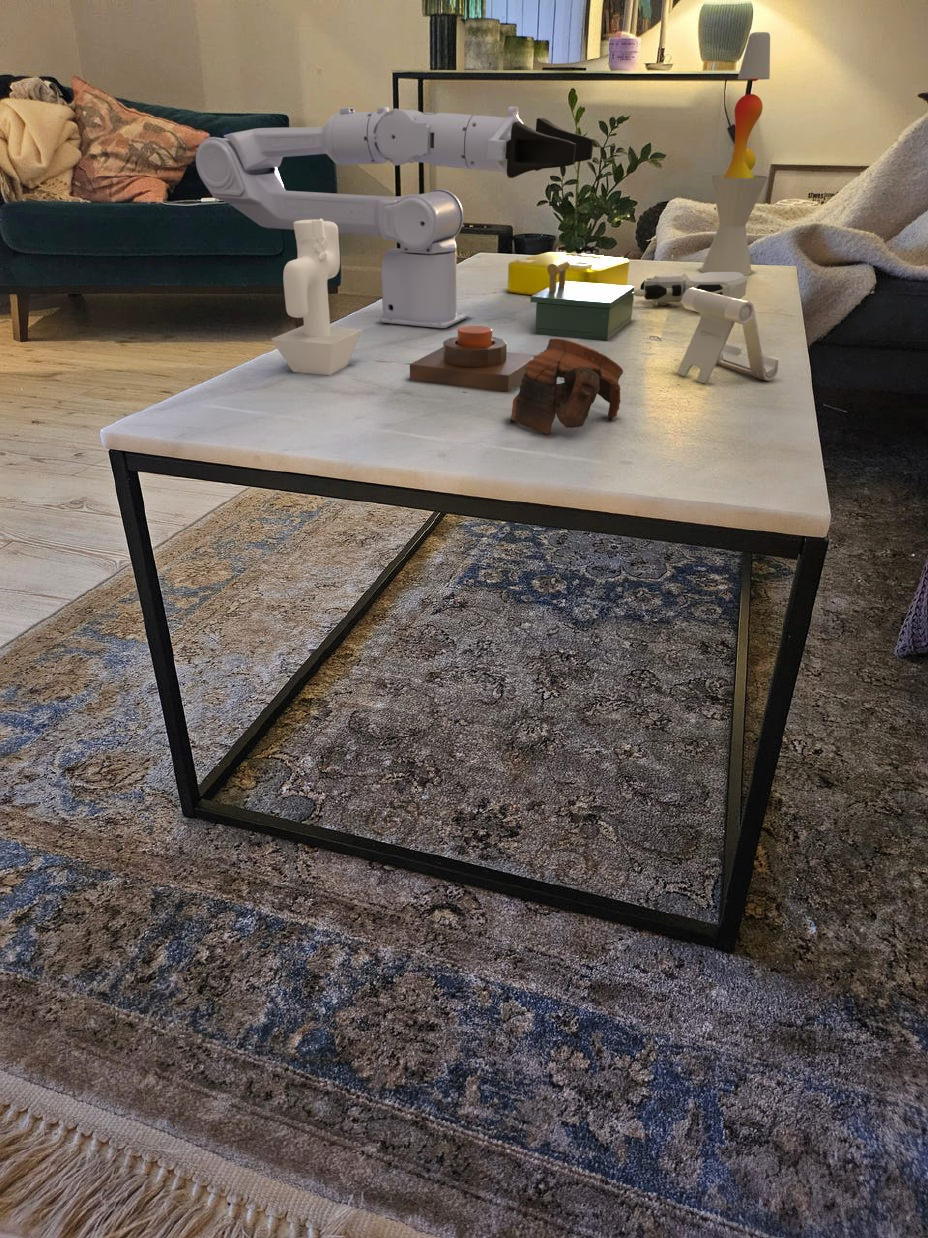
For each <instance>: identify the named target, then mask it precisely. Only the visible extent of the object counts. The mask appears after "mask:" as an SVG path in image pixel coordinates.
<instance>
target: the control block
mask: <svg viewBox="0 0 928 1238" xmlns="http://www.w3.org/2000/svg"><path fill="white" fill-rule="evenodd" d="M442 344H443V345H442V347H440V348H438V349H436V350H434V351H432V352H431V353H429V354H426V355H425V356H423V357H421V358H419V359H418V360H415V361H413V362H412V363H410V364H409V381H413V382H420V383H429V384H437V385H445V386H454V387H462V388H470V389H479V390H486V391H487V390H488V391H494V392H495V391H497V392H504V393H509V392H510V391H512V390H513V389H515V387H518V385H521V383H522V382H521V380H522V378H523V376H524V374H525V373H526V371H525V367H526V366H527V365H528V363H529V361H530V360H532V359H533V358H534V357H535V356H536V355H537V354H536V355H535V354H527V353H526V354H525V353H517V352H509V351H507V347H508V346H507V345H508V344H507V342H506V341H505V340H504V339H502V338H499V337H496V336H495V337H494V336H492V345H491V346H486V347H464V346H460V345H458V336H454V337H449V338H447V339H445V340H444V341H443V342H442Z"/></svg>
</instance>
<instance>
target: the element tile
mask: <svg viewBox="0 0 928 1238" xmlns="http://www.w3.org/2000/svg"><path fill="white" fill-rule="evenodd" d="M561 259H567V260H568V261H569V267H568V269H566V279H565V281H567V282H580V283H594V284H608V285H621V286H628V279H629V268H630V260H629V259H628V258H624V257H614V256H604V255H596V254H587V253H576V252H559V251H548V252H544V253H539V254H535V255H532V256H527V257H524V258H519V259H516V260H511V261H509V262H508V265H507V266H508V268H507V269H508V270H507V291H508V292H509V293H512V294H518V295H527V296H533V295H535V294H537V293H539V292H541V291H543V290H545V289H547V288H548V287H549V285H550V275H549V274H548V272H547V268H548V266H549V265H550V264H552V263H555V262H557V261H559V260H561ZM558 282H559V273H558V274H557V276H556V283H558Z"/></svg>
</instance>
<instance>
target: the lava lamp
mask: <svg viewBox="0 0 928 1238" xmlns="http://www.w3.org/2000/svg"><path fill="white" fill-rule="evenodd" d="M770 71H771V34H770V32H767V31H756V32H751V33H750V34H749V36H748V40H747V43H746V47H745V50H744V53H743V58H742V62H741V65H740V69H739V72H738V77H737V80H741V81H742V80H745V81H748V80H750V81H752V82H757V81H758V80H762V81H763V80H770V78H771V77H770V76H771V74H770V73H771V72H770ZM763 107H764V106H763V102H762V100H761V97H759V96H758V95H756V94H754V93H747V94H745V95H743V96H741V97H740V98H739V99H738V100H737V102H736V104H735V106H734V133H735V136H734V145H733V146H734V147H733V153H732V156H731V161H730V164H729V166H728V168H727V170H726V172H725V174H713V175H711V182H712V187H713V193H714V199H715V205H716V211H717V216H718V222H719V225H718V228H717V230H716V232H715V234H714V237H713V240H712V242H711V245H710V247H709V249H708V252H707V254H706V257H705V259H704V261H703V263H702V266H701V268H700V271H701V272H700V273H706V272H739V273H742V274H745V273H750V274H749V275H751V274H752V273H753V272H752V266H751V265H752V264H751V258H750V249H749V243H748V235H747V227H746V226H747V223H748V220H749V218H750V216H751V214H752V212H753V210H754V208H755V206H756V204H757V201H758V200H759V198H760V195H761V194H762V191H763V189H764V187H765V185H766V183H767V180H768V176H764V175H757V174H756V175H755V174H753V173H752V172H751V170H752V169H754V167H755V165H756V159H757V158H756V153H754V151H753V150H752V149H748V148H747V147H748V141H749V137H750V135H751V133H752V130H753V129H754V127H755V125H756V123H757V122H758V120H759V118H760V117H761V115H762V113H763Z"/></svg>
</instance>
